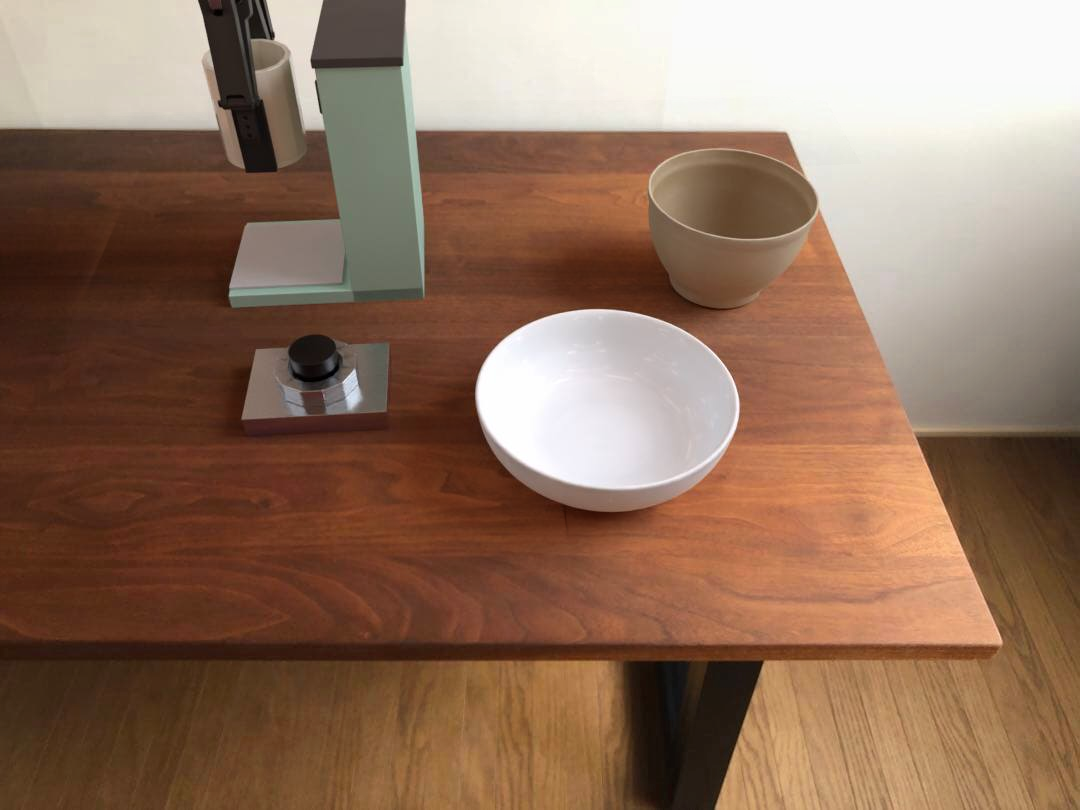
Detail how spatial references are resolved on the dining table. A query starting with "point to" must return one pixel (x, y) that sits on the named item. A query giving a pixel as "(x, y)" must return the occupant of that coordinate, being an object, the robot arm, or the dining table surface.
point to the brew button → (313, 358)
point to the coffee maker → (350, 176)
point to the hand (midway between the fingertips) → (267, 147)
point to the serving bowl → (606, 408)
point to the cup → (266, 103)
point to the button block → (319, 393)
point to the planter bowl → (727, 222)
